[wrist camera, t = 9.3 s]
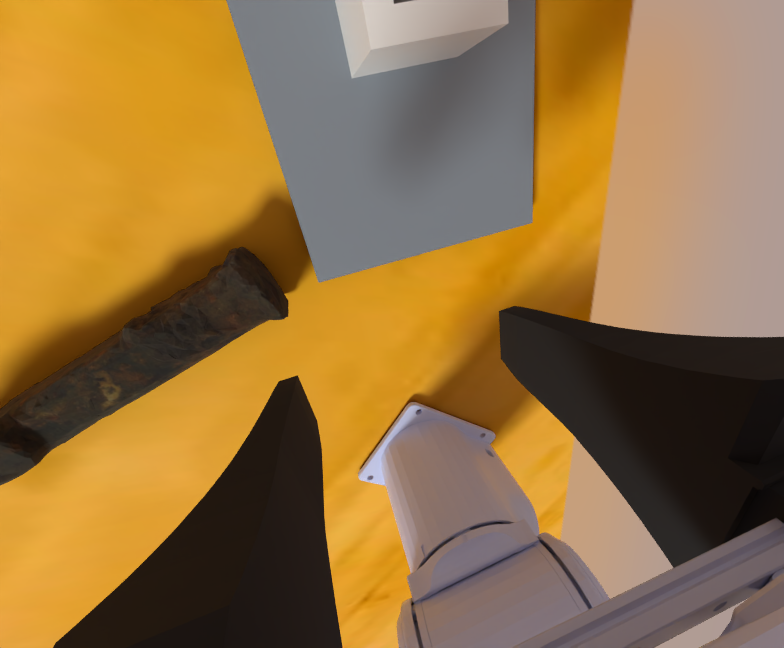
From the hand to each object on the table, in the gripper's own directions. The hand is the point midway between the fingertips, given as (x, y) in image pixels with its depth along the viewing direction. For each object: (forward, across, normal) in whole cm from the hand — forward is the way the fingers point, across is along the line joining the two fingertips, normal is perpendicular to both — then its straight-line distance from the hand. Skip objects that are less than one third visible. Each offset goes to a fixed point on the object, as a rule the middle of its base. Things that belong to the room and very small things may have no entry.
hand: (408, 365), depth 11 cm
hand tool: (+10, +13, +1) cm, 17 cm away
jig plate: (+9, -4, -8) cm, 13 cm away
